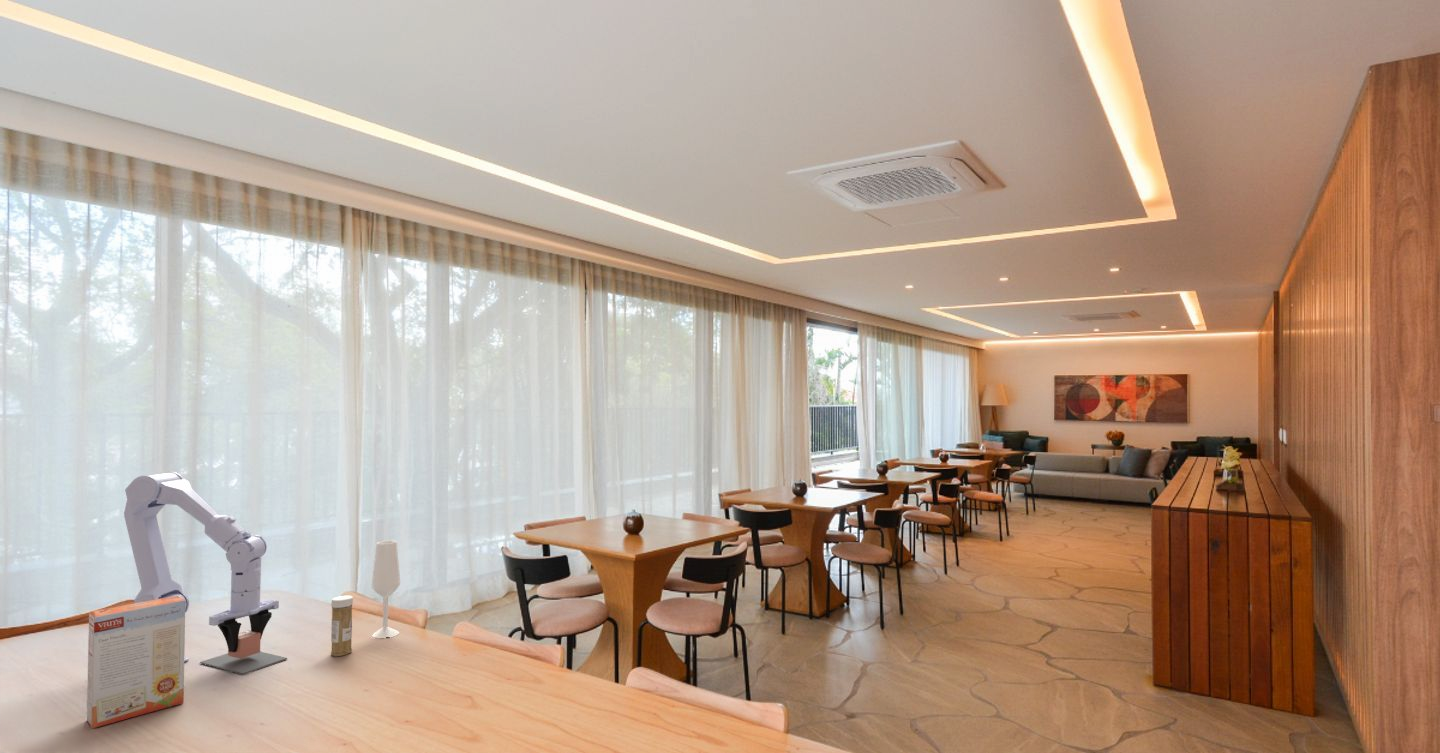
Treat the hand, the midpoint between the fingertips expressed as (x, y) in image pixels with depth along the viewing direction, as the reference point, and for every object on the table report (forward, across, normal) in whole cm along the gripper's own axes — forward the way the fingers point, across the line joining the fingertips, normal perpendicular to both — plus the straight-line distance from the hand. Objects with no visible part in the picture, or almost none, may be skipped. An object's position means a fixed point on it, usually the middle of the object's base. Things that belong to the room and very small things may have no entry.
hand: (244, 647), depth 160 cm
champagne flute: (+3, +27, -14) cm, 31 cm away
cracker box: (+3, -25, -8) cm, 26 cm away
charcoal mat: (+3, 0, 0) cm, 3 cm away
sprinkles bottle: (+3, +13, -16) cm, 21 cm away
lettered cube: (+1, 0, 0) cm, 1 cm away
